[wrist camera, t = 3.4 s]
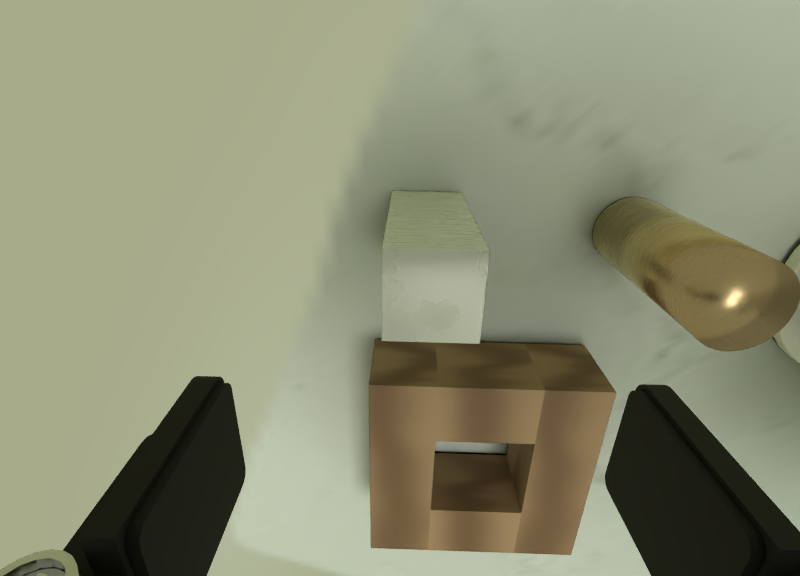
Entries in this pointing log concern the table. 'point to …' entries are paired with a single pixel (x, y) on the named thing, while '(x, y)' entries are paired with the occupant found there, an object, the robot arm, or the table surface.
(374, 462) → the socket block
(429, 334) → the square peg
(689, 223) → the round peg
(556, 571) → the table surface
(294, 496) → the table surface
